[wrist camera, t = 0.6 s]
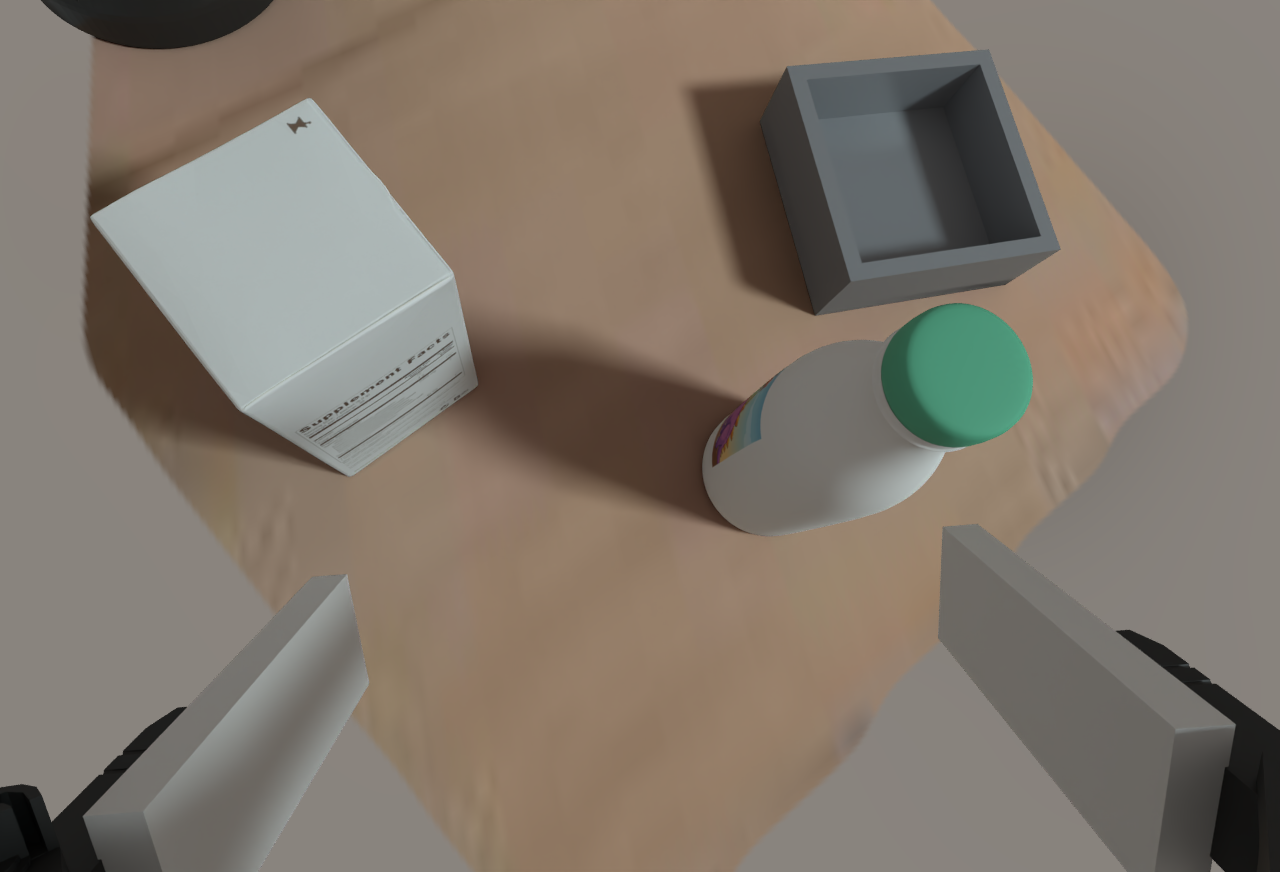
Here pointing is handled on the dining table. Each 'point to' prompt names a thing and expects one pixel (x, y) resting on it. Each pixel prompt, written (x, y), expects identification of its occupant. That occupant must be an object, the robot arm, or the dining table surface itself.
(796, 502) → the milk bottle
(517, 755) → the dining table surface
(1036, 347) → the dining table surface
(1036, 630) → the robot arm
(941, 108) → the box
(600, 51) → the dining table surface
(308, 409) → the supplement box
